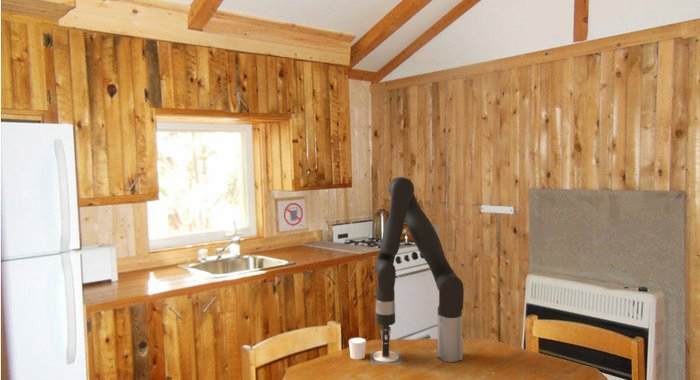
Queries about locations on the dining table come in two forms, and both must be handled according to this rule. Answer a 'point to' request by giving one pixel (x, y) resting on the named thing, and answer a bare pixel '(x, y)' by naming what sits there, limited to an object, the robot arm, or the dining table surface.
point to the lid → (380, 358)
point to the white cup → (357, 348)
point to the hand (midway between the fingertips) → (385, 354)
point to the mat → (385, 363)
